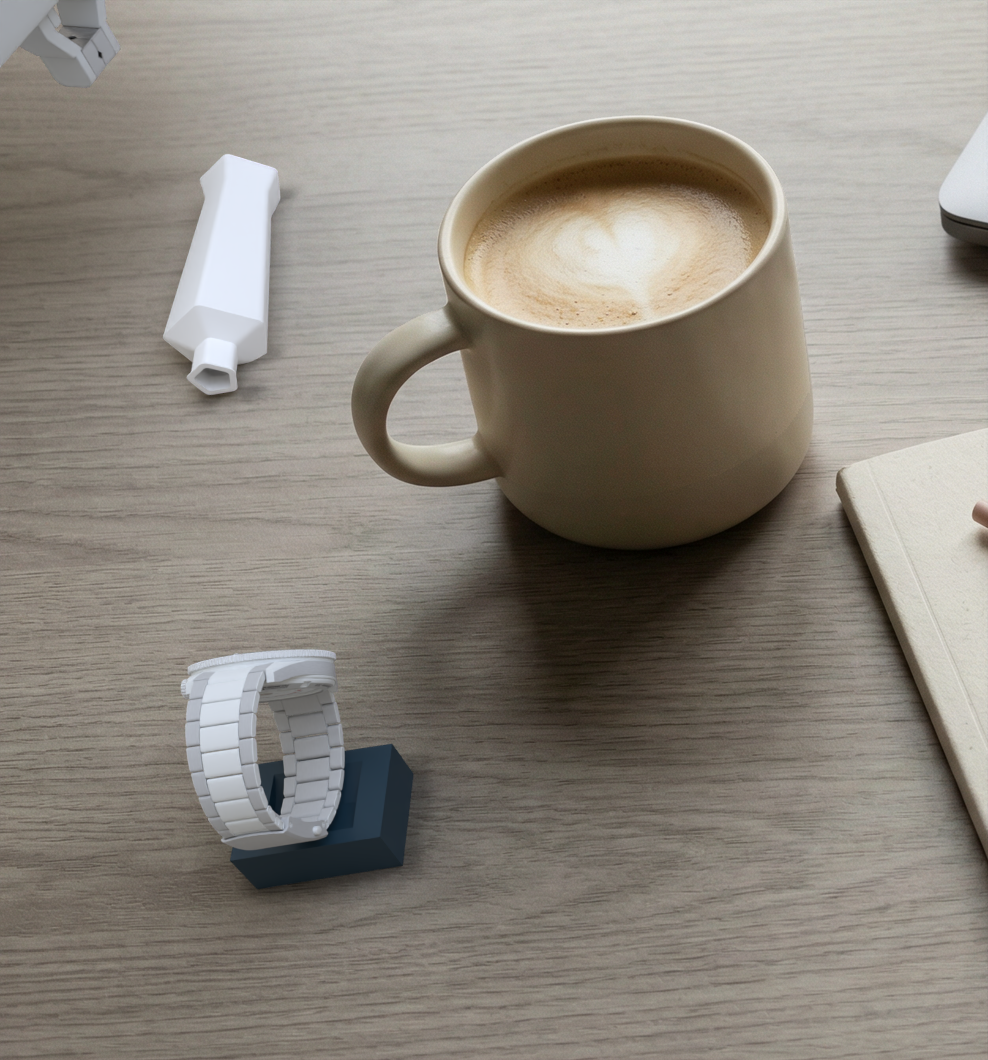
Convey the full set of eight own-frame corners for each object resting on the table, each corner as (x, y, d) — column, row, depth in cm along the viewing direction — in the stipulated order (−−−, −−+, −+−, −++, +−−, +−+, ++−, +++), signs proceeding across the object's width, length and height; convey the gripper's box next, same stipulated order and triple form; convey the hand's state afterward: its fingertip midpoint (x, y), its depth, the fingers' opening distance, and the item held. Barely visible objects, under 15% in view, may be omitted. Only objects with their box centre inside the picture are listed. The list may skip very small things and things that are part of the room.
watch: (424, 743, 73) (319, 589, 64) (404, 913, 68) (288, 772, 59) (285, 764, 72) (160, 611, 63) (255, 938, 67) (115, 798, 58)
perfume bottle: (269, 141, 90) (242, 336, 81) (304, 205, 94) (281, 399, 85) (176, 154, 89) (138, 352, 80) (214, 218, 93) (182, 415, 84)
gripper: (-19, -329, 77) (131, -57, 88) (-308, -80, 64) (-91, 203, 75) (117, -321, 77) (251, -50, 88) (-146, -69, 64) (48, 212, 75)
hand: (91, 69), depth 81 cm, fingers closed
